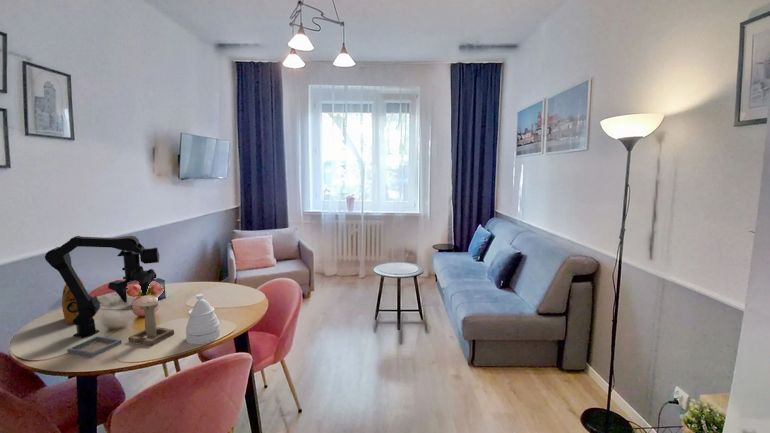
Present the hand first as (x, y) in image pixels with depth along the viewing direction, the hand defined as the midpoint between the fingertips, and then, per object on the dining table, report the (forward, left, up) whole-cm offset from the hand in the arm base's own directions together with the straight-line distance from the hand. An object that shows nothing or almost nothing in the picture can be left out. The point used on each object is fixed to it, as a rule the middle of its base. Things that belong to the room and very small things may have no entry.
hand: (135, 298), depth 162 cm
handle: (+16, -7, -13) cm, 22 cm away
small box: (-22, +28, -13) cm, 38 cm away
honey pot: (+36, 0, -13) cm, 38 cm away
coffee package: (-34, -2, -13) cm, 37 cm away
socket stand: (+16, -7, -13) cm, 22 cm away
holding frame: (+2, -20, -13) cm, 24 cm away
